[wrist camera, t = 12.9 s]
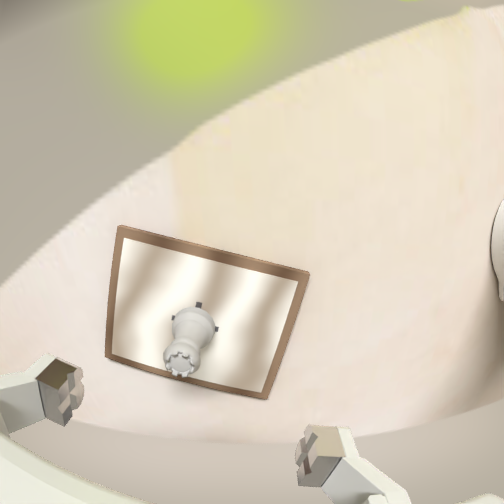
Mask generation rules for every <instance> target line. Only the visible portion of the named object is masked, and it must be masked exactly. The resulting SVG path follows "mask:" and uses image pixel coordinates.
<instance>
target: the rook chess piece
mask: <svg viewBox="0 0 504 504" xmlns="http://www.w3.org/2000/svg"><path fill="white" fill-rule="evenodd" d="M172 334H173V336H174V339H175V340H173V341H172V342H171V344H170V346H168V347H167V348H166V349H165V351H164V353H163V360H164V363H165V367H166V369H167V371H168V370H171V371H172V374H171V375H173V376H175V377H177V375H178V374H179V375H182V378H185V377H188V375H190V374H193V373H194V372H196V371H197V370H198V369H199V367H200V362H201V359H200V349H202V348H204V347H205V346H207V345H208V344H209V343H210V342H211V340H212V338H213V335H214V334H215V323H214V321H213V318H212V317H211V316H210V315H209V314H208V313H207V312H206V311H204V310H202V309H200V308H196V307H188V308H184V309H182V310H180V311H179V312H178V313H177V314H176V316H175V318H174V320H173V323H172Z"/></svg>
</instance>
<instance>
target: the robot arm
mask: <svg viewBox="0 0 504 504" xmlns="http://www.w3.org/2000/svg"><path fill="white" fill-rule="evenodd" d="M491 252H492V262H493V266H494V270H495V273H496V275H497V278H498V281H499V298H500V300H501V301H504V199H503V201H502V203H501V205H500V207H499V209H498V212H497V215H496V218H495V222H494V226H493V232H492V242H491ZM82 378H83V371H82V369H81V368H80V367H78V366H76V365H74V364H71V363H69V362H67V361H65V360H63V359H61V358H58V357H56V356H54V355H52V354H50V353H45V354H44V355H43V356H42V357H40V358H39V359H38V360H37V361H36V362H35V363H34V364H33V365H32V366H31V367H29V368H28V369H27V370H26V371H25V372H24V373H22V372H21V371H20V372H15V373H10V374H5V375H0V504H154V503H151V502H148V501H144V500H141V499H138V498H135V497H132V496H129V495H126V494H123V493H120V492H118V491H115V490H112V489H109V488H107V487H104V486H102V485H99V484H97V483H94V482H92V481H90V480H87V479H85V478H83V477H80V476H78V475H76V474H74V473H72V472H70V471H67V470H65V469H63V468H61V467H59V466H57V465H55V464H53V463H51V462H49V461H48V460H46V459H44V458H42V457H40V456H38V455H37V454H35V453H33V452H32V451H30V450H28V449H26V448H25V447H23V446H21V445H20V444H18V443H17V442H15V441H13V440H12V439H11V438H10V436H9V434H10V433H12V432H15V431H17V430H19V429H22V428H24V427H27V426H29V425H32V424H34V423H36V422H39V421H41V420H43V419H45V418H47V419H49V420H52V421H54V422H56V423H58V424H60V425H62V426H65V425H66V424H67V423H68V421H69V420H70V418H71V417H72V410H74V409H77V408H78V407H79V406H80V404H81V402H82V400H83V397H84V386H83V384H82V382H81V381H80V380H81V379H82ZM304 435H305V437H304V438H302V439H301V440H300V441H299V443H298V445H297V448H296V453H295V461H296V464H297V465H298V466H299V467H300V468H299V469H298V471H297V477H298V485H299V486H309V487H321V489H322V490H323V491H324V493H325V494H326V495H327V496H328V497H329V499H330V500H331V501H332V502H333V503H334V504H412V503H411V501H410V499H409V496H408V494H407V491H406V490H405V489H403V488H402V487H401V486H399V485H398V484H397V483H395V482H394V481H393V480H391V479H390V478H389V477H387V476H386V475H385V474H384V473H382V472H381V471H380V470H378V469H377V468H376V467H375V466H373V465H372V464H371V463H370V462H368V461H367V460H366V459H364V458H360V456H359V453H358V451H357V448H356V445H355V442H354V439H353V436H352V433H351V431H350V429H349V428H348V427H336V426H335V427H333V426H319V425H308V426H307V427H306V429H305V431H304ZM455 504H504V499H502V498H500V497H498V496H496V495H494V494H491V493H487V494H484V495H480V496H477V497H475V498H471V499H468V500H465V501H462V502H459V503H455Z"/></svg>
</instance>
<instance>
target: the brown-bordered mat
mask: <svg viewBox="0 0 504 504" xmlns="http://www.w3.org/2000/svg"><path fill="white" fill-rule="evenodd" d="M309 276H310V274H309V272H308V271H303V270H299V269H295V268H291V267H287V266H283V265H279V264H275V263H271V262H267V261H263V260H259V259H255V258H251V257H247V256H243V255H239V254H235V253H231V252H227V251H223V250H219V249H215V248H211V247H207V246H203V245H199V244H195V243H191V242H187V241H183V240H179V239H175V238H171V237H167V236H163V235H159V234H156V233H152V232H148V231H144V230H140V229H136V228H132V227H128V226H124V225H119V226H118V227H117V233H116V240H115V246H114V253H113V261H112V269H111V277H110V286H109V296H108V308H107V321H106V338H105V357H106V358H109V359H112V360H115V361H118V362H121V363H124V364H127V365H130V366H133V367H136V368H139V369H142V370H146V371H149V372H152V373H156V374H159V375H162V376H166V377H169V378H173V379H177V380H180V381H184V382H188V383H192V384H196V385H200V386H204V387H208V388H213V389H217V390H222V391H226V392H231V393H236V394H241V395H246V396H251V397H257V398H262V399H267V398H268V395H269V393H270V390H271V387H272V385H273V382H274V379H275V377H276V374H277V371H278V368H279V366H280V363H281V360H282V357H283V354H284V352H285V349H286V346H287V343H288V340H289V337H290V334H291V331H292V328H293V326H294V323H295V320H296V317H297V314H298V311H299V307H300V304H301V301H302V298H303V295H304V292H305V289H306V286H307V283H308V279H309ZM188 307H196V308H200V309H202V310H204V311H206V312H207V313H208V314H209V315H210V316H211V317H212V318H213V321H214V323H215V334H214V335H213V338H212V340H211V342H210V343H209V344H208V345H207V346H205V347H204V348H202V349H200V359H201V362H200V367H199V369H198V370H197V371H196V372H194V373H193V374H190V375H188V377H185V378H182V375H179V374H178V375H177V377H175V376H173V375H171V374H172V371H171V370H168V371H167V369H166V367H165V363H164V360H163V353H164V351H165V349H166V348H167V347H168V346H170V344H171V342H172V341H173V340H175V339H174V336H173V334H172V323H173V320H174V318H175V316H176V314H177V313H178V312H179V311H180V310H182V309H184V308H188Z"/></svg>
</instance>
